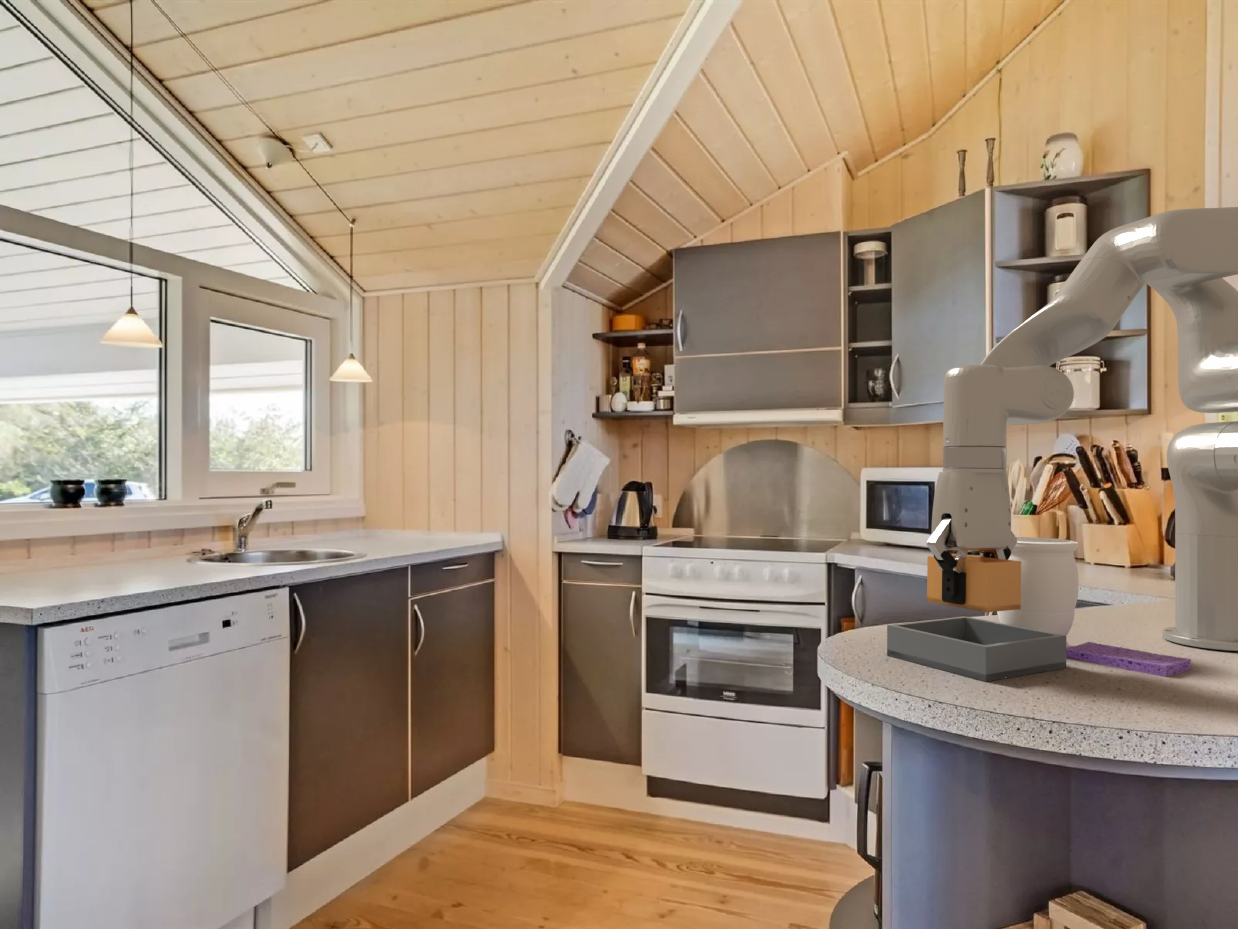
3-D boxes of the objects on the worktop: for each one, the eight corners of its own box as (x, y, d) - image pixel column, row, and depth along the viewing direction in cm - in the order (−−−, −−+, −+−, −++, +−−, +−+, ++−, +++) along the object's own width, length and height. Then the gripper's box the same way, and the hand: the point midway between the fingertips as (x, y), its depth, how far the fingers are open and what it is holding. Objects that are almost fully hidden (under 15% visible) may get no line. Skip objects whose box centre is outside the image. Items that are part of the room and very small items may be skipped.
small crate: (960, 598, 109) (960, 554, 109) (1020, 609, 101) (1021, 561, 101) (927, 601, 106) (927, 555, 106) (986, 612, 98) (987, 563, 98)
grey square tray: (964, 644, 114) (964, 616, 114) (1066, 667, 100) (1066, 635, 100) (887, 655, 107) (887, 625, 107) (985, 681, 93) (985, 647, 93)
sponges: (1165, 681, 96) (1165, 665, 96) (1060, 660, 107) (1060, 646, 107) (1192, 673, 100) (1192, 658, 100) (1088, 654, 111) (1087, 640, 111)
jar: (983, 647, 112) (983, 539, 112) (1003, 636, 120) (1004, 535, 120) (1069, 659, 105) (1069, 544, 105) (1085, 646, 113) (1085, 539, 113)
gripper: (993, 463, 111) (992, 593, 111) (903, 460, 103) (901, 601, 103) (1044, 463, 105) (1042, 601, 104) (952, 460, 96) (950, 610, 96)
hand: (972, 600), depth 104 cm, fingers closed on small crate, 6 cm apart
